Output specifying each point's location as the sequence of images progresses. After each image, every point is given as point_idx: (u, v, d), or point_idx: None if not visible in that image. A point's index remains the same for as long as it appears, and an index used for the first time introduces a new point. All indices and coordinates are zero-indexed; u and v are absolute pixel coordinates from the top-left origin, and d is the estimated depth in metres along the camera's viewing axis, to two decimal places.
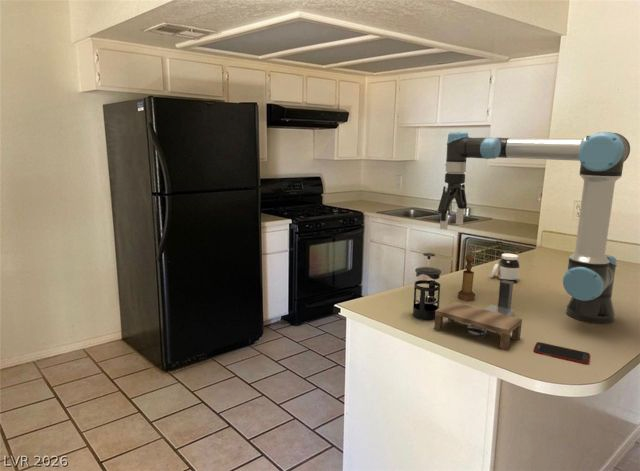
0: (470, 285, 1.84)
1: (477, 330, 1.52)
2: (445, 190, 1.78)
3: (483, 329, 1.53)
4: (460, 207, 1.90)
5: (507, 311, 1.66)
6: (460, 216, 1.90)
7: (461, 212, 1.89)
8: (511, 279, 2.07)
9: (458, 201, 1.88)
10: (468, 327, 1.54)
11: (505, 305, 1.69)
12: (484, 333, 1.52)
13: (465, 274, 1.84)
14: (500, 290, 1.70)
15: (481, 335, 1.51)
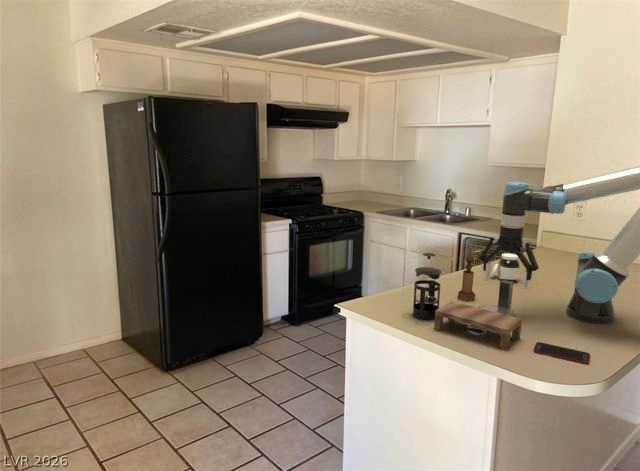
0: (470, 285, 1.84)
1: (477, 330, 1.52)
2: None
3: (483, 329, 1.53)
4: None
5: (507, 311, 1.66)
6: None
7: None
8: (511, 279, 2.07)
9: None
10: (468, 327, 1.54)
11: (505, 305, 1.69)
12: (484, 333, 1.52)
13: (465, 274, 1.84)
14: (500, 290, 1.70)
15: (481, 335, 1.51)
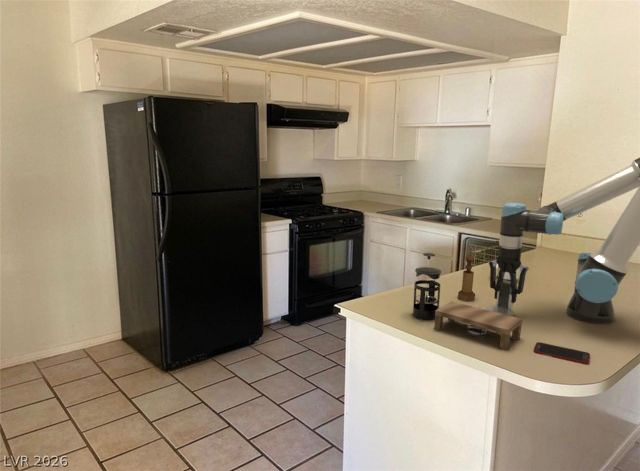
0: (470, 285, 1.84)
1: (477, 330, 1.52)
2: None
3: (483, 329, 1.53)
4: None
5: (507, 310, 1.66)
6: None
7: None
8: None
9: None
10: (468, 327, 1.54)
11: (505, 305, 1.69)
12: (484, 333, 1.52)
13: (465, 274, 1.84)
14: (500, 290, 1.70)
15: (481, 335, 1.51)
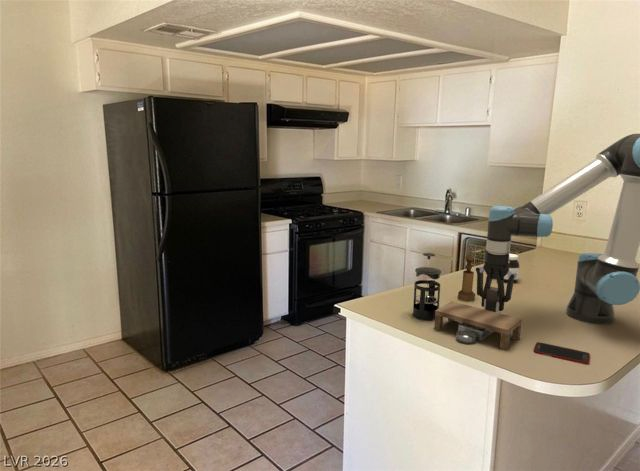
0: (470, 285, 1.84)
1: (466, 336, 1.47)
2: None
3: (473, 335, 1.47)
4: None
5: None
6: None
7: None
8: None
9: None
10: (457, 333, 1.49)
11: None
12: (473, 340, 1.46)
13: (465, 274, 1.84)
14: (487, 297, 1.61)
15: (470, 342, 1.46)
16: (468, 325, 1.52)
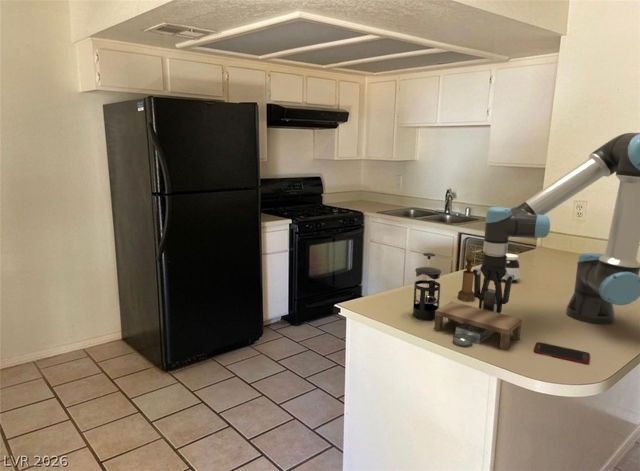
0: (470, 285, 1.84)
1: (463, 339, 1.45)
2: None
3: (469, 339, 1.46)
4: None
5: None
6: None
7: None
8: None
9: None
10: (454, 336, 1.47)
11: None
12: (470, 343, 1.44)
13: (465, 274, 1.84)
14: (485, 300, 1.59)
15: (467, 345, 1.44)
16: (465, 328, 1.50)
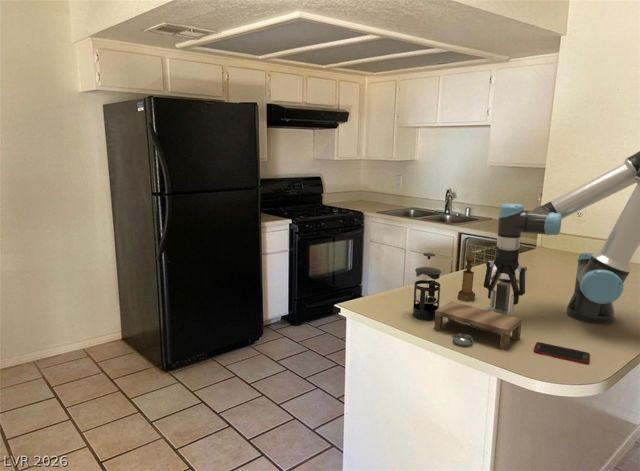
0: (470, 285, 1.84)
1: (463, 339, 1.45)
2: None
3: (469, 339, 1.45)
4: None
5: (504, 313, 1.64)
6: None
7: None
8: None
9: None
10: (454, 336, 1.47)
11: (502, 307, 1.67)
12: (470, 343, 1.44)
13: (465, 274, 1.84)
14: (497, 292, 1.67)
15: (466, 345, 1.44)
16: None
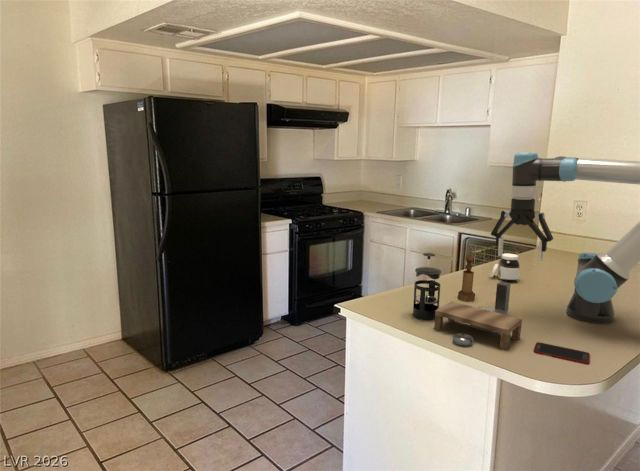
0: (470, 285, 1.84)
1: (462, 339, 1.45)
2: None
3: (469, 339, 1.45)
4: None
5: (504, 313, 1.64)
6: None
7: None
8: (511, 279, 2.07)
9: None
10: (454, 335, 1.48)
11: (502, 307, 1.67)
12: (470, 343, 1.44)
13: (465, 274, 1.84)
14: (497, 292, 1.67)
15: (466, 345, 1.44)
16: None
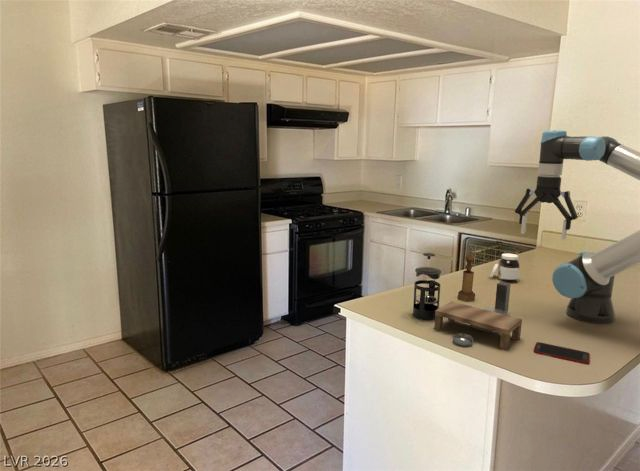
0: (470, 285, 1.84)
1: (462, 339, 1.45)
2: None
3: (469, 339, 1.45)
4: None
5: (504, 313, 1.64)
6: None
7: None
8: (511, 279, 2.07)
9: None
10: (454, 335, 1.48)
11: (502, 307, 1.67)
12: (469, 343, 1.44)
13: (465, 274, 1.84)
14: (497, 292, 1.67)
15: (465, 345, 1.44)
16: None
